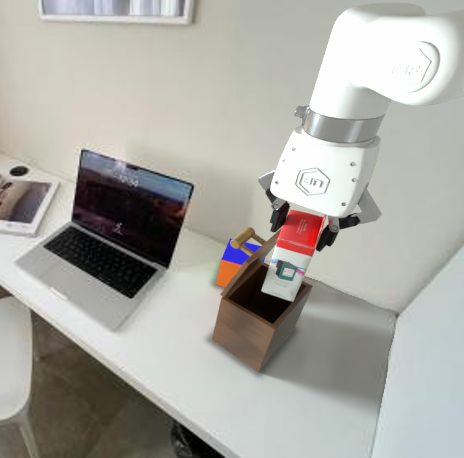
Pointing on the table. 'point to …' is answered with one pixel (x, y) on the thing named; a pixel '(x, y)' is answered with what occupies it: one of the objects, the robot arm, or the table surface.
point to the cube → (233, 262)
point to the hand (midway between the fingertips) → (298, 236)
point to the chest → (256, 319)
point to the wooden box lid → (254, 257)
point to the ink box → (293, 254)
